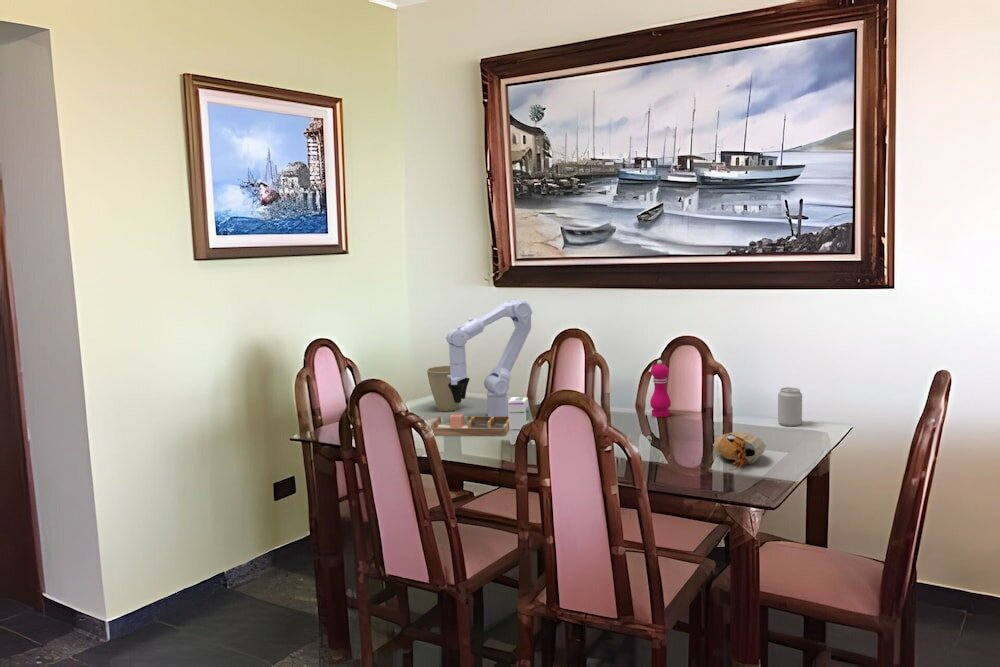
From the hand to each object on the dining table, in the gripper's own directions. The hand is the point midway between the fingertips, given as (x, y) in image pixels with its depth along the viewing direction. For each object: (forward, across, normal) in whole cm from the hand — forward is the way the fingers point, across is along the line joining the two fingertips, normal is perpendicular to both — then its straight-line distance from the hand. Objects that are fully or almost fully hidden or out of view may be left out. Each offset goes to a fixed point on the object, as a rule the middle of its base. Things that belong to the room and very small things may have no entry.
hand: (459, 400), depth 286 cm
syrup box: (+9, +24, +25) cm, 35 cm away
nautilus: (+9, +42, +91) cm, 100 cm away
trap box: (+8, +10, +6) cm, 14 cm away
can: (+9, 0, +112) cm, 112 cm away
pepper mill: (+9, -12, +70) cm, 72 cm away
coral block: (+8, +6, 0) cm, 10 cm away
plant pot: (+9, -22, -10) cm, 25 cm away
